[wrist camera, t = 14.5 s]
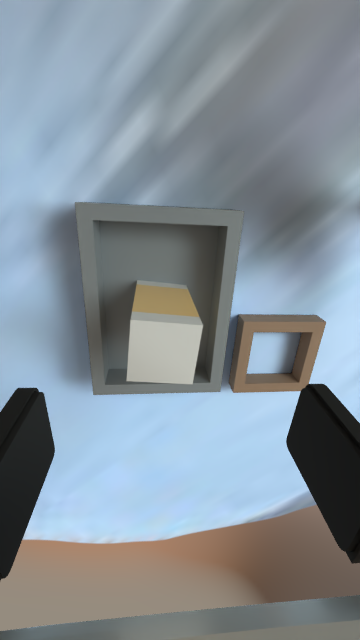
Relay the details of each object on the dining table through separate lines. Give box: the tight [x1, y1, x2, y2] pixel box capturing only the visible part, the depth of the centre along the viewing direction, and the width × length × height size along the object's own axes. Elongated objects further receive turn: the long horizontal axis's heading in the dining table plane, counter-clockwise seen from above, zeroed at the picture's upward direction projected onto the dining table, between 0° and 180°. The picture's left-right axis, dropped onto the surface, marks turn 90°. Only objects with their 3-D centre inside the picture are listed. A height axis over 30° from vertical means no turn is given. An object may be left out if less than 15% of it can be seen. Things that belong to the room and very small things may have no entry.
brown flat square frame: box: [229, 314, 326, 393], centre depth 26 cm, size 8×8×2 cm
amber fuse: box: [127, 280, 203, 384], centre depth 19 cm, size 4×4×8 cm
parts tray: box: [75, 202, 244, 395], centre depth 22 cm, size 15×11×3 cm
